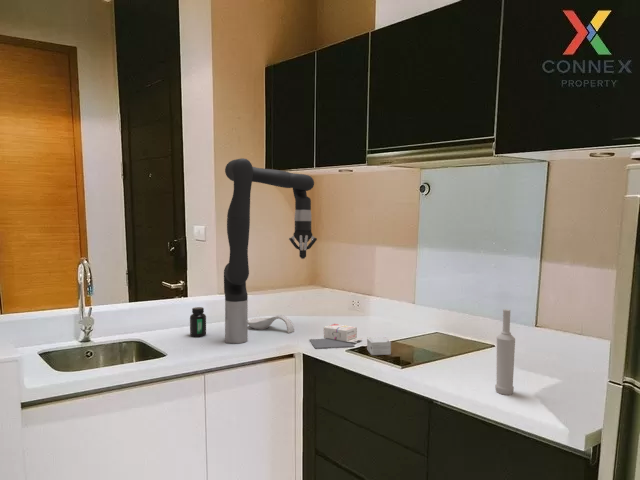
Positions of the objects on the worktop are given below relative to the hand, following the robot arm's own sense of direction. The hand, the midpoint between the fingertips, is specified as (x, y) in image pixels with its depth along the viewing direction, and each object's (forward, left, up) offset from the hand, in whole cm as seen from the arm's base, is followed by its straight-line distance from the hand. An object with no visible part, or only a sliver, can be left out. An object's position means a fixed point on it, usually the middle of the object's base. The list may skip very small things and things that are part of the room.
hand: (302, 258), depth 220 cm
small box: (+23, -38, -33) cm, 56 cm away
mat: (+8, -23, -33) cm, 41 cm away
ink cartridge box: (+9, -13, -30) cm, 34 cm away
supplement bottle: (-46, 0, -33) cm, 57 cm away
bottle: (+47, -86, -33) cm, 103 cm away
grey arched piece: (-14, +6, -34) cm, 37 cm away
